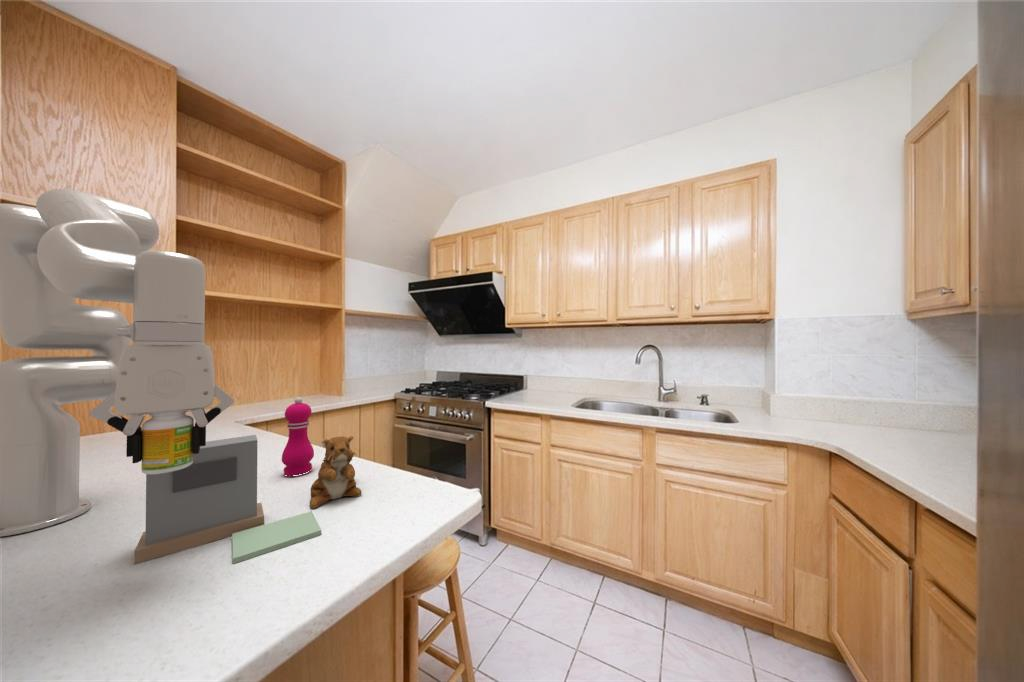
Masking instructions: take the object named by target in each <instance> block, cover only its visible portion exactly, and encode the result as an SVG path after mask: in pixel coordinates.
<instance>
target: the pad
mask: <svg viewBox="0 0 1024 682" xmlns="http://www.w3.org/2000/svg"><path fill="white" fill-rule="evenodd" d="M321 535H322V529H321V527H320V524H319V523H318V520H317V519H316V517H315V514H314V513H313V511H312V510H311V511H307V512H304V513H303V512H302V513H301V514H300V513H299V514H296V515H293V516H290V517H289V516H288V517H286V518H283V519H279V520H276V521H272V522H269V523H264V525H261V526H258V527H254V528H251V529H247V530H244V531H240V532H237V533H233V534H232V536H231V537H232V538H231V541H232V542H231V543H232V546H231V547H232V564H233V565H234V564H237V563H239V562H244V561H246V560H249V559H252V558H255V557H259V556H261V555H265V554H266V553H270V552H274V551H276V550H278V549H282V548H286V547H288V546H292V545H295V544H297V543H300V542H303V541H306V540H310V539H311V538H315V537H318V536H321Z"/></svg>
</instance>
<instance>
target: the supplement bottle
mask: <svg viewBox="0 0 1024 682" xmlns="http://www.w3.org/2000/svg"><path fill="white" fill-rule="evenodd" d="M187 412H188V411H178V412H167V413H156V414H148V415H149V416H151V418H150V419H147V420H145V421H143V423H142V425H141V428H142V460H141V473H143V474H145V475H146V474H161V473H167V472H172V471H177V470H180V469H183V468H186V467H188V466H190V465H191V464H192V463H193V453H192V441H193V427H194V426H195V422H194V421H195V419H194V417H192V416H191V415H187V414H186V413H187Z"/></svg>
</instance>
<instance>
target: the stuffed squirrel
mask: <svg viewBox="0 0 1024 682" xmlns="http://www.w3.org/2000/svg"><path fill="white" fill-rule="evenodd" d="M354 439H355V437H354V436H353V435H350V436H349V437H347V436H335V437H331V438H330V439H328V438H322V439H321V443H322V445H323V447H324V448H325V453H324V457H323V459H322V462H321V464H320V468H319V470H318V473H317V477H318V478H316V479H315V480H314V481H313V483H312V485H311V487H310V499H309V507H310V508H311V509H317V508H318V507H320V506H322V505H323V504H325V503H326V502H327V501H331V499H332V500H337V498H338V499H340V498H342V497H344V496H355V497H360V496H361V495H362V489H360V488H359V487H357V482H356V480H355V475H356V470H355V468H354V466H353V464H351V461H352V460H353V458H354V457H355V455H357V453H355V451H353V450H352V449H351V447H350V444H351V442H352V440H354ZM359 495H360V496H359Z"/></svg>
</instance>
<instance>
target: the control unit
mask: <svg viewBox="0 0 1024 682" xmlns="http://www.w3.org/2000/svg"><path fill="white" fill-rule="evenodd" d="M257 437H258V436H257V435H256V434H252V435H245V436H244V435H243V436H236V437H231V438H223V439H216V440H215V439H214V440H209V441H208V440H206V445H205V446H200V451H199V453H198V454H194V453H193V463H192V464H191V465H190V466H188V467H186V468H183V469H180V470H177V471H172V472H167V473H161V474H145V476H146V477H145V530H144V531H143V532H142V534H141V536H140V538H139V540H138V543H137V545H136V547H135V549H134V558H133V560H134V562H133V563H134V564H133V565H136V564H140V563H144V562H147V561H151V560H154V559H157V558H160V557H164V556H167V555H171V554H175V553H177V552H182V551H185V550H188V549H192V548H196V547H198V546H202V545H205V544H208V543H212V541H213V542H216V541H219V539H220V540H223V539H226V537H227V538H230V537H232V534H233V533H237V532H240V531H244V530H247V529H251V528H254V527H258V526H261V525H265V514H264V510H263V509H264V508H263V505H262V502H258V438H257ZM215 540H216V541H215Z"/></svg>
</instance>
